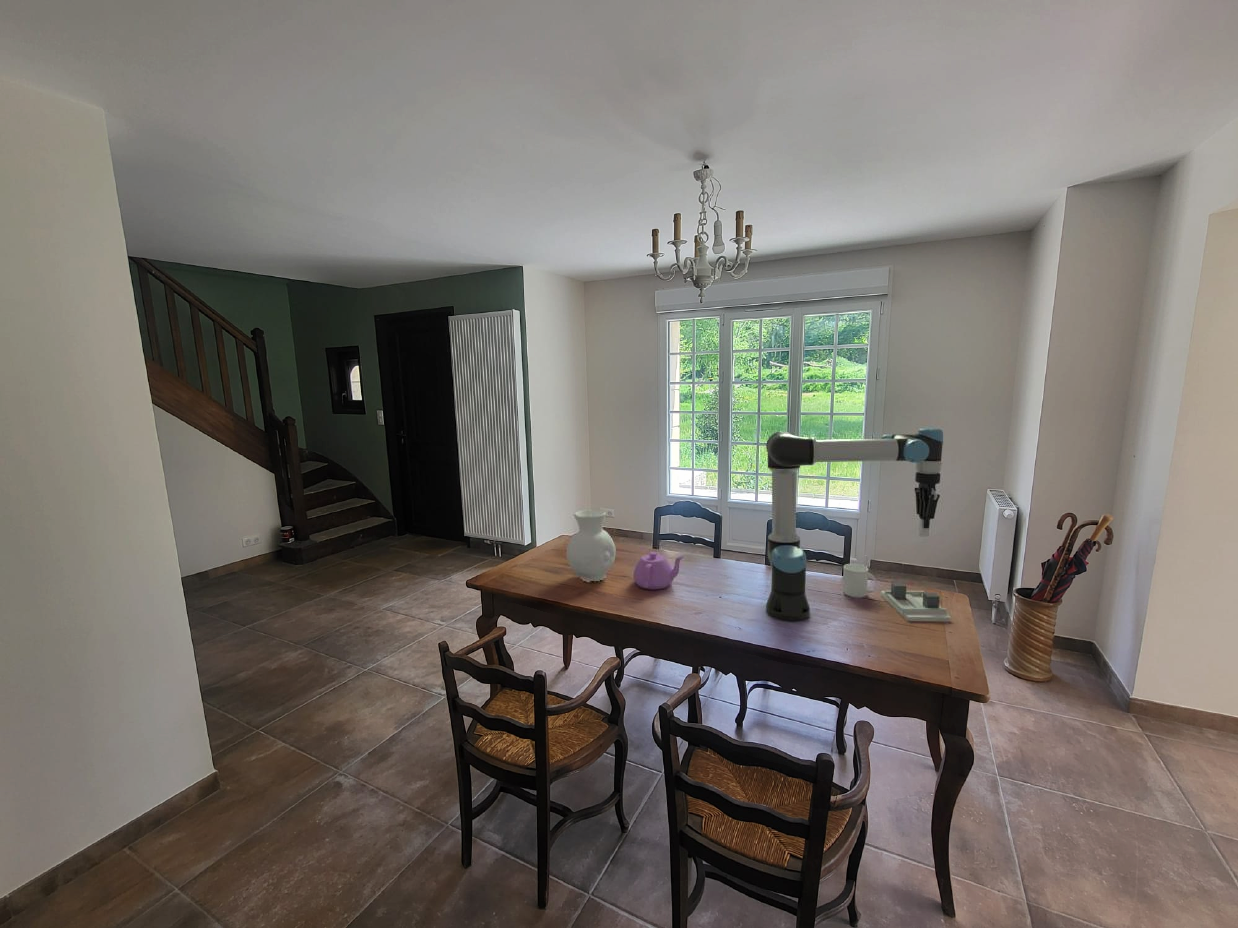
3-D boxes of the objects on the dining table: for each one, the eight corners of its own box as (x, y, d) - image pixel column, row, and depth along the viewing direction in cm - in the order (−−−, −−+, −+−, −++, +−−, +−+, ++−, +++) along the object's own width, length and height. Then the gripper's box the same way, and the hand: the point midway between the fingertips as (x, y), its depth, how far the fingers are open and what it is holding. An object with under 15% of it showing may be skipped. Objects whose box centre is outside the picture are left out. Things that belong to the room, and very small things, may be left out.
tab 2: (926, 609, 177) (927, 596, 176) (922, 606, 180) (923, 593, 179) (938, 610, 177) (939, 596, 176) (934, 606, 180) (935, 593, 179)
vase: (623, 574, 224) (621, 509, 220) (596, 591, 207) (593, 521, 202) (590, 567, 234) (587, 504, 230) (561, 583, 217) (557, 515, 212)
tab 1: (894, 598, 187) (895, 586, 186) (890, 595, 190) (891, 582, 189) (905, 598, 186) (906, 586, 186) (901, 595, 189) (902, 583, 188)
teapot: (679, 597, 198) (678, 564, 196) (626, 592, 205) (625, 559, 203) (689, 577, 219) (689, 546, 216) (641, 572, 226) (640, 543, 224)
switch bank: (907, 620, 173) (908, 612, 173) (880, 594, 195) (881, 587, 194) (950, 621, 172) (951, 613, 172) (918, 594, 194) (919, 587, 193)
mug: (874, 602, 189) (875, 574, 187) (840, 594, 196) (841, 568, 194) (878, 594, 195) (879, 567, 194) (845, 587, 203) (846, 562, 201)
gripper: (949, 475, 171) (944, 541, 175) (929, 468, 184) (925, 530, 188) (926, 475, 172) (921, 541, 176) (908, 468, 185) (904, 530, 189)
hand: (923, 535), depth 182 cm, fingers closed
